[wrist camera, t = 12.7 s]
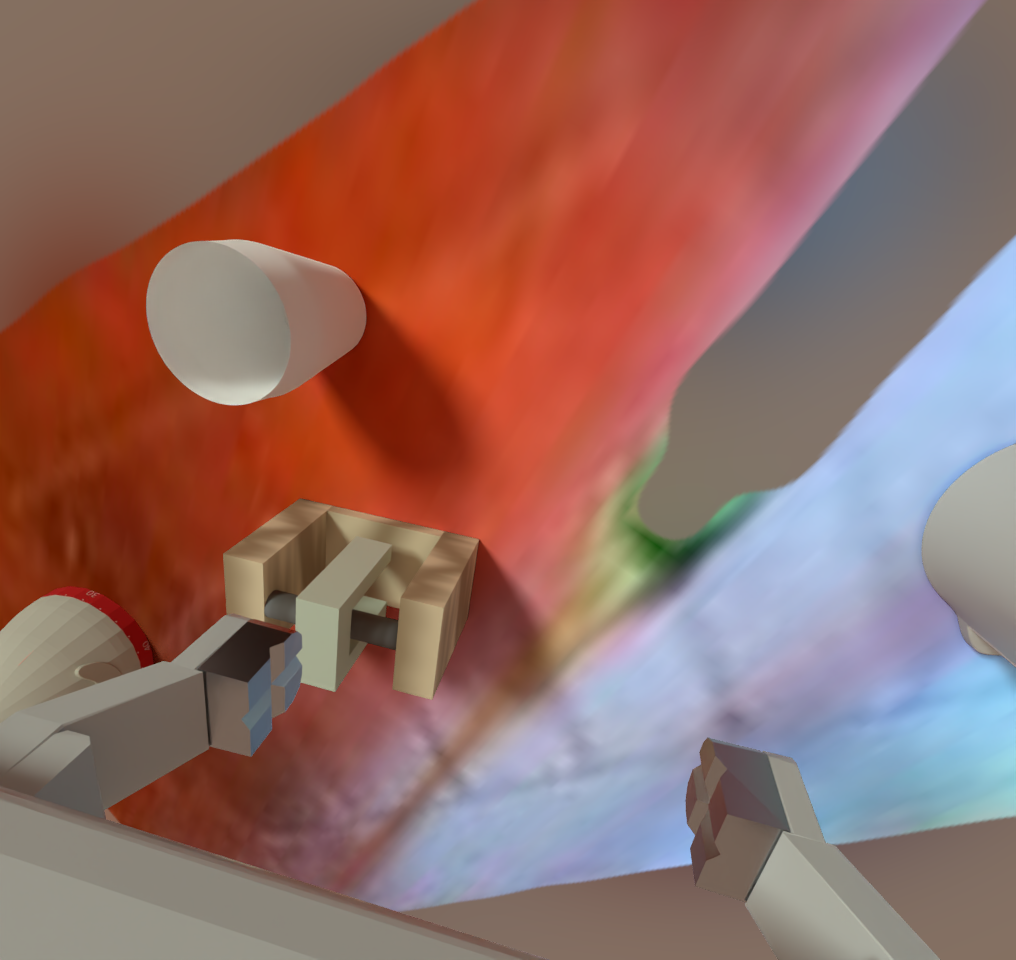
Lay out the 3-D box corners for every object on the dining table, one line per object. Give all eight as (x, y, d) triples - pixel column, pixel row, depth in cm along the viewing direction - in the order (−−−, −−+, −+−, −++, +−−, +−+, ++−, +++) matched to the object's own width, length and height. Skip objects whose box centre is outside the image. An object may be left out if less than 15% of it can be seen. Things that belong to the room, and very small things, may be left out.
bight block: (392, 544, 44) (339, 609, 35) (385, 616, 46) (334, 691, 38) (356, 536, 44) (295, 598, 36) (352, 607, 47) (294, 680, 38)
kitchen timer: (59, 683, 63) (-99, 800, 49) (22, 579, 58) (-165, 677, 44) (166, 702, 60) (32, 830, 46) (137, 595, 55) (-22, 703, 41)
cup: (347, 395, 43) (253, 439, 32) (251, 323, 42) (122, 343, 31) (405, 298, 39) (321, 310, 28) (302, 218, 39) (176, 198, 28)
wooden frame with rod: (479, 539, 45) (443, 608, 36) (467, 618, 48) (432, 699, 39) (300, 498, 47) (223, 553, 38) (299, 576, 50) (228, 645, 41)
